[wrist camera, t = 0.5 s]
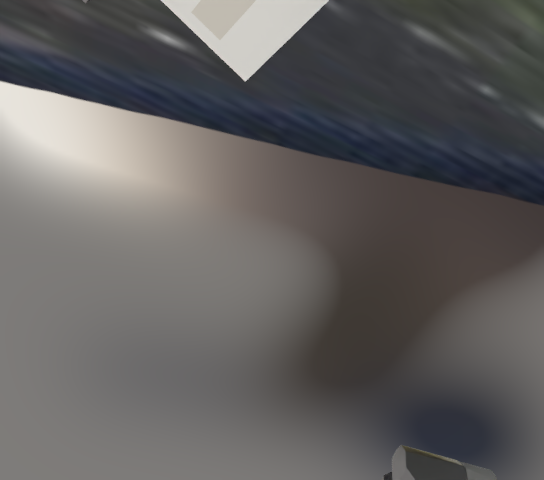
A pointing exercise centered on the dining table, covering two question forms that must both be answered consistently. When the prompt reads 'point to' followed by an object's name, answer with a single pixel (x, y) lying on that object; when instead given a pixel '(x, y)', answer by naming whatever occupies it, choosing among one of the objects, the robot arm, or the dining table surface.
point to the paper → (245, 27)
